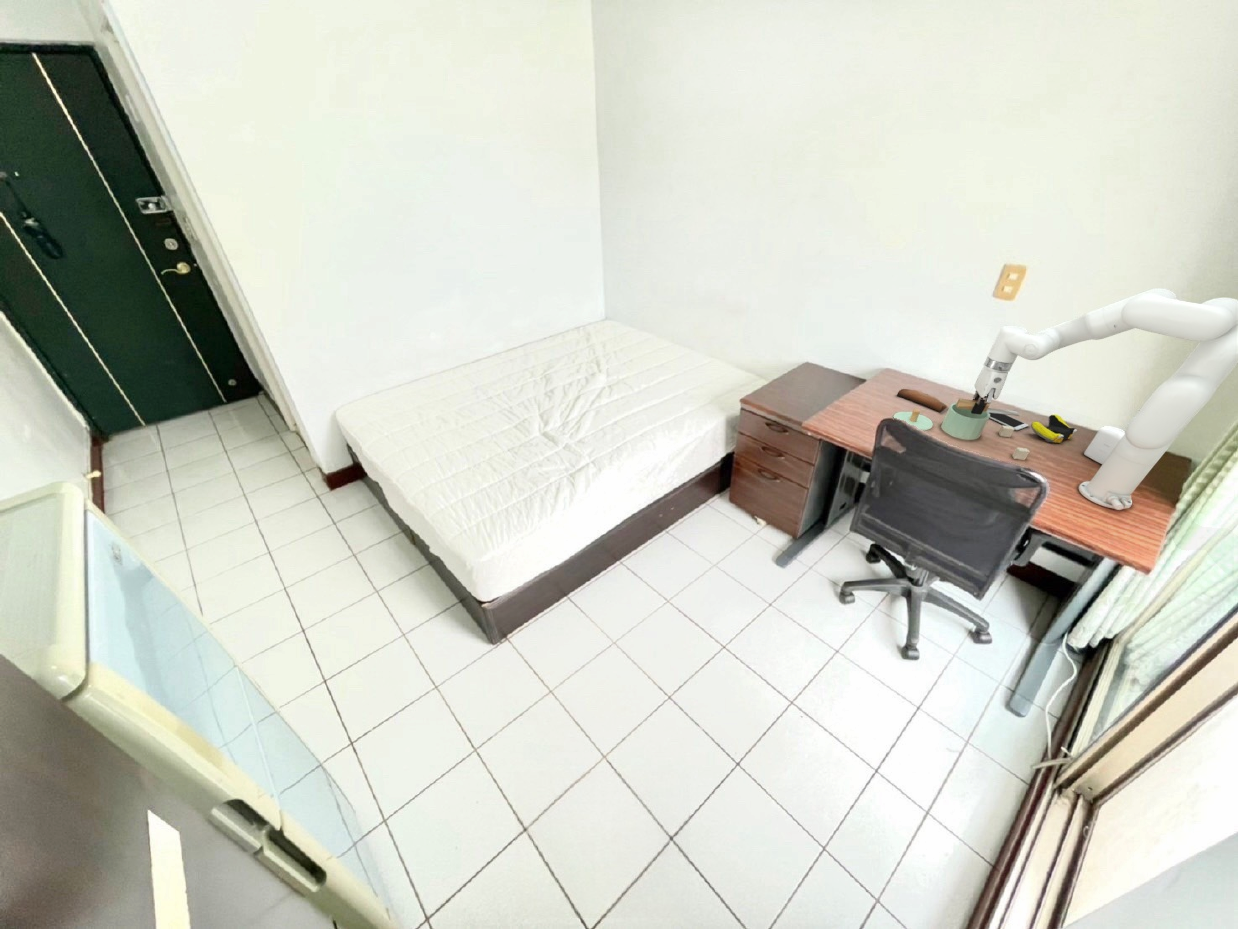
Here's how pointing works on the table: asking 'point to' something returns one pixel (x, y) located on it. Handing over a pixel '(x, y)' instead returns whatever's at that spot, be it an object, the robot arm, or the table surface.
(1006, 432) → the pair of cream blocks
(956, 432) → the pot
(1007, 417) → the smartphone
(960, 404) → the knife
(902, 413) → the lid
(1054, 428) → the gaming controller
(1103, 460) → the photo printer
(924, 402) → the sunglasses case
